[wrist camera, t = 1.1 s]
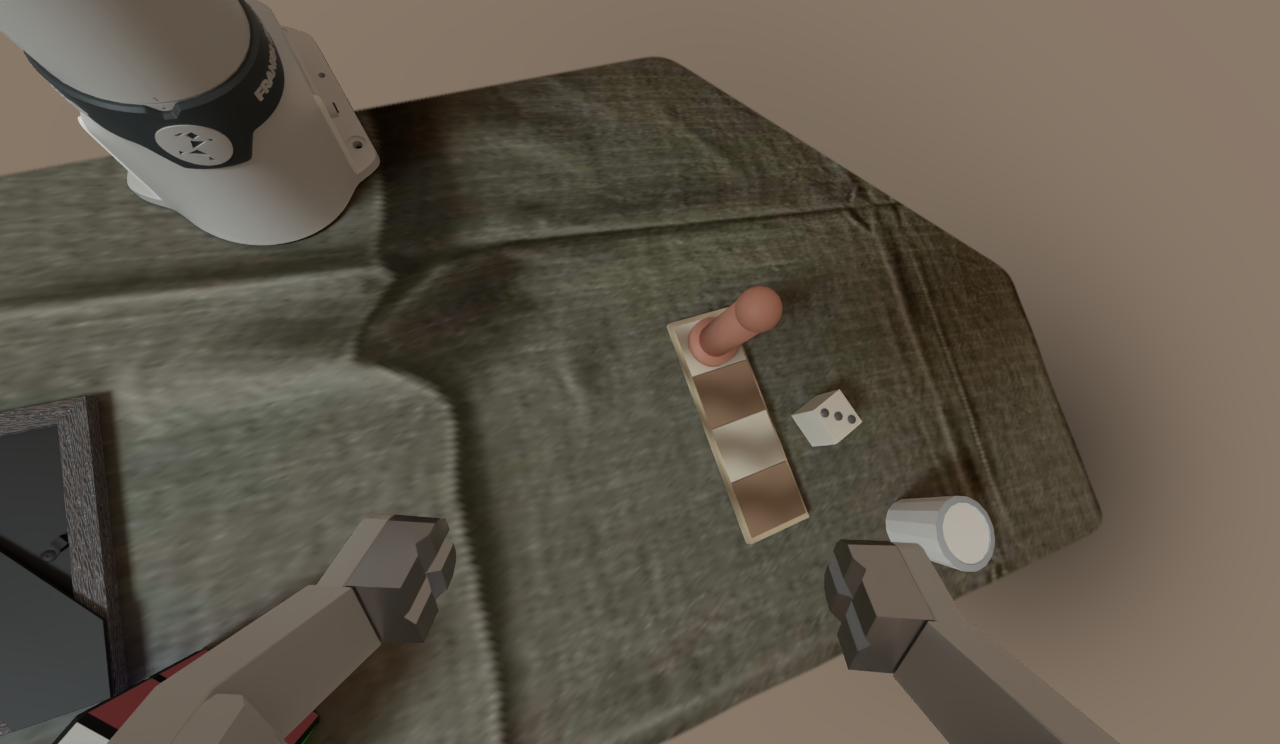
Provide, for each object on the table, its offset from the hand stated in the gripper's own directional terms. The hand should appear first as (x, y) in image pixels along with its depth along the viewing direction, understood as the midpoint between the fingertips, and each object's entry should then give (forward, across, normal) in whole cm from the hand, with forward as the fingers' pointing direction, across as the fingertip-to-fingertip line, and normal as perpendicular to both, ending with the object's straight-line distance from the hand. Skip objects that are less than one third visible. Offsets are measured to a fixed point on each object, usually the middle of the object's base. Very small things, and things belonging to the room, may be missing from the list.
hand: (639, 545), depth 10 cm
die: (+34, -18, +22) cm, 44 cm away
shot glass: (+28, -28, +32) cm, 51 cm away
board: (+32, -9, +21) cm, 39 cm away
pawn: (+36, -6, +14) cm, 39 cm away
